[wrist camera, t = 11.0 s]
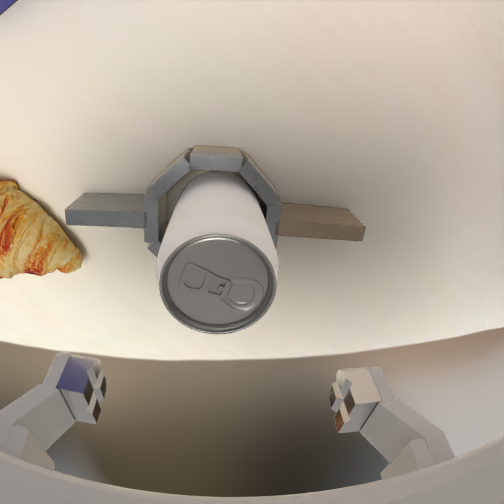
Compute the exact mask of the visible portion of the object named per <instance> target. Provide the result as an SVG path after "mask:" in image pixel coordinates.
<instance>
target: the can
mask: <svg viewBox="0 0 504 504" xmlns="http://www.w3.org/2000/svg"><path fill="white" fill-rule="evenodd" d="M156 271H157V278H158V282H159V289H160V294H161V298H162V300H163V303H164V305H165V306H166V308H167V310H168V311H169V312H170V313H171V315H172V316H173V317H174V318H175V319H177V320H178V321H179V322H180V323H182V324H183V325H185V326H187V327H189V328H191V329H193V330H196V331H199V332H203V333H209V334H227V333H233V332H236V331H240V330H242V329H245V328H247V327H249V326H251V325H252V324H254V323H255V322H257V321H258V320H259V319H260V318H261V317H262V316H263V315H264V314H265V313H266V312H267V310H268V309H269V307H270V306H271V304H272V302H273V299H274V296H275V292H276V283H277V280H278V274H279V263H278V256H277V252H276V249H275V246H274V243H273V240H272V237H271V235H270V232H269V229H268V226H267V224H266V221H265V219H264V216H263V213H262V211H261V208H260V206H259V203H258V201H257V198H256V196H255V194H254V192H253V190H252V189H251V187H250V186H249V185H248V184H247V183H246V182H245V181H244V180H243V179H241V178H240V177H238V176H236V175H234V174H231V173H228V172H222V171H214V172H208V173H204V174H202V175H199V176H198V177H196V178H194V179H193V180H192V181H191V182H189V183H188V184H187V186H186V187H185V188H184V190H183V191H182V193H181V195H180V197H179V199H178V202H177V204H176V206H175V209H174V211H173V214H172V216H171V219H170V222H169V224H168V227H167V229H166V232H165V235H164V238H163V240H162V243H161V246H160V249H159V253H158V257H157V265H156Z"/></svg>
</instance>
